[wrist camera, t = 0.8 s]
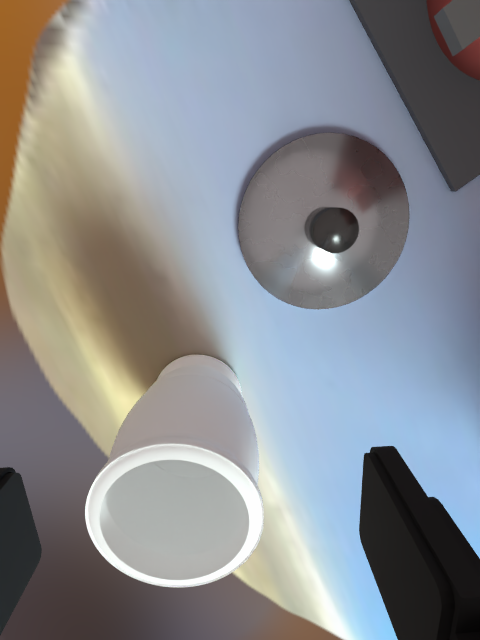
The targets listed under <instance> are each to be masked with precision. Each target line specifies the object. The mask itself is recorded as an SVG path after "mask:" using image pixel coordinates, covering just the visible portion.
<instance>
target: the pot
mask: <svg viewBox="0 0 480 640" xmlns="http://www.w3.org/2000/svg"><path fill="white" fill-rule="evenodd" d="M427 9H428V16H429V20H430V24H431V28H432V31H433V33H434V36H435V38H436V41H437V43H438V45H439V46H440V48H441V50H442V52H443V53H444V54H445V56H446V57H447V58H448V59H449V61H450V62H451V63H452V64H453V65H454V66H456V67H457V68H458V69H459V70H460V71H462V72H463V73H465V74H466V75H468V76H470V77H472V78H475V79H477V80H480V0H427Z"/></svg>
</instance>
